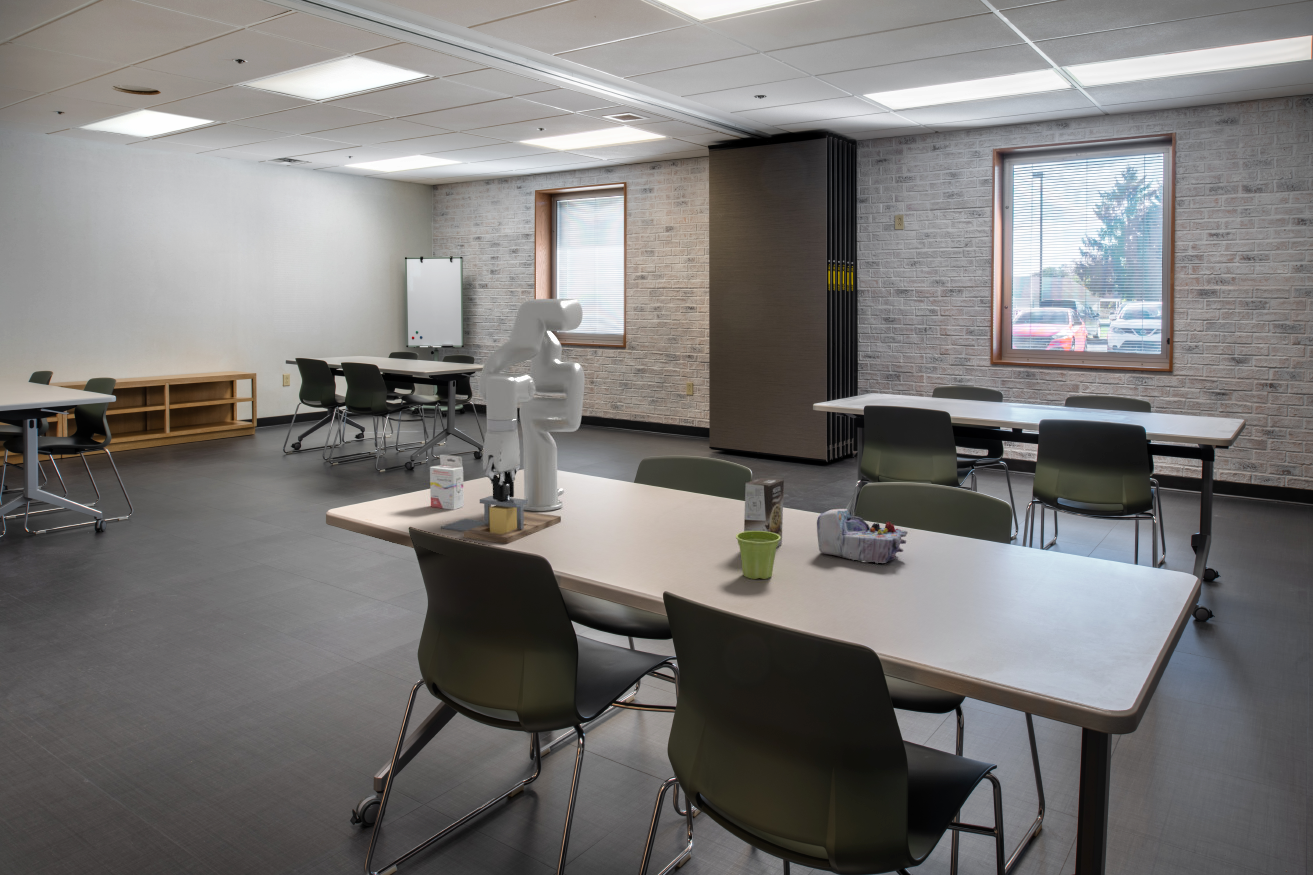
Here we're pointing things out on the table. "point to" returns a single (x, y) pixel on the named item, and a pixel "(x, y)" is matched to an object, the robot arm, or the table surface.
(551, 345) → the robot arm
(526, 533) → the puzzle board
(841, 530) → the cell model
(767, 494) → the coffee box
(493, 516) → the ochre block
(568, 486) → the table surface
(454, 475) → the ink cartridge box
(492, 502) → the cover bar
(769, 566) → the plant pot
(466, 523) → the rubber mat
